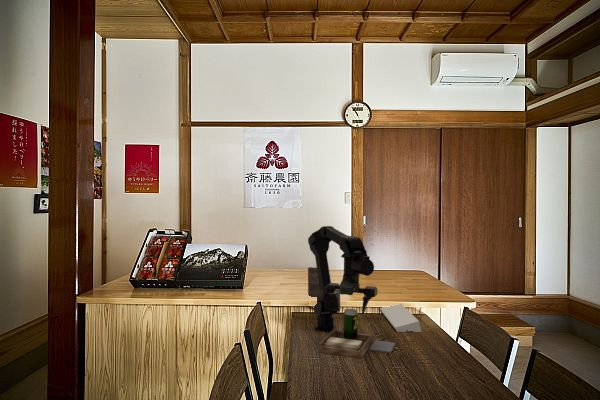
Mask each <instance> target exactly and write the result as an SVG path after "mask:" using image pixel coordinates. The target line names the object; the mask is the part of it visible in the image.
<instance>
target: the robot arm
mask: <svg viewBox="0 0 600 400" xmlns="http://www.w3.org/2000/svg"><path fill="white" fill-rule="evenodd" d="M307 240H308V241H307V242H308V246H309V249H310V251H311V252H312V254H313V255H314V257H315V265H316V266H315V267H317V273H318V279H319V286H320V292H319V294H318V297H317V304H316V305H315V307H314V308H312V309H313V313H314V315H316V317H317V318H316V319H317V320H316V325H317V326H316V328H315V330H317V331H324V332H332V331H333V330H334V329H335V328H336V317H335V315H337V314H338V312H340V311H341V295H342V296H343V295H348V296H353V295H354V294H355V293H356V294H363V297H362V312H361V314H362V315H365V312H366V309H367V306H368V304H369V302H370V300H371V299H374V298H375V297H376V296H377V295H378V288H377V287H376V286H371V285H370V286H369V285H366V286H365V287H363V288H362V287H361V286H360V276H361V275H363V276H366V277H368V276H371V275H372V274H373V272H374V270H375V265H374V262H373V261H372V260H370V256H369V255H368V251H367V249H366V248H365V245H364V243H363V240H362V239H361V237H359V236H355V235H347V234H345V233H344V232H341V231H340V230H338V229H336V228H335V227H334V226H332V225H324V226H321V227H319V229H317V230H315V231H314V232H312V233H311V234H310V236H308V239H307ZM330 242H333V243H335V244H337V245H338V246H339V250H341V252H343V254H341V256H340V257H341V259H342V258H343V274H342V279H341V282H340V283H339V282H338V283H337V282H332V281H331V274H330V267H329V262H328V252H329V249H330Z"/></svg>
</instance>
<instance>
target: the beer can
mask: <svg viewBox="0 0 600 400" xmlns="http://www.w3.org/2000/svg"><path fill="white" fill-rule="evenodd" d="M343 332H344V338H343V339H350V340H358V334H359V312H358V309H355V308H347V309H344V312H343ZM358 341H359V340H358Z"/></svg>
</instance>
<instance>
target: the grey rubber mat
mask: <svg viewBox="0 0 600 400" xmlns="http://www.w3.org/2000/svg"><path fill="white" fill-rule="evenodd" d="M395 346H396V342H392V341H391V342H390V341H384V340H375V339H374V342H373V343H372V345H371V346H370V348H369V349H368V351H371V352H377V353H383V354H384V353H385V354H392V352H393V350H394V348H395Z"/></svg>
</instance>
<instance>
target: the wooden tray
mask: <svg viewBox="0 0 600 400" xmlns="http://www.w3.org/2000/svg"><path fill="white" fill-rule="evenodd" d="M330 337H335V338H344V331H341V330H338V328H337V327H335V328H334V329H333V330H332V331H330V332H329V333H328V334H327V335H326V336H325V337H324V338H323V339H322V340H320V342H319V343H318V352H319V353H322V354H329V355H335V356H343V357H348V358H349V357H350V358H355V359H356V358H357V359H363V358H364V357H365V354H366V353H367V352H368V351H369V348H370V347H371V345H372V344H373V342H374V341H375V332H371V334H365V333H358V341H365V342H364V343H362V345H361V348H360V351H354V350H347V349H340V348H332V347H325V343H326V341H327V340H328V339H329V338H330Z"/></svg>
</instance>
